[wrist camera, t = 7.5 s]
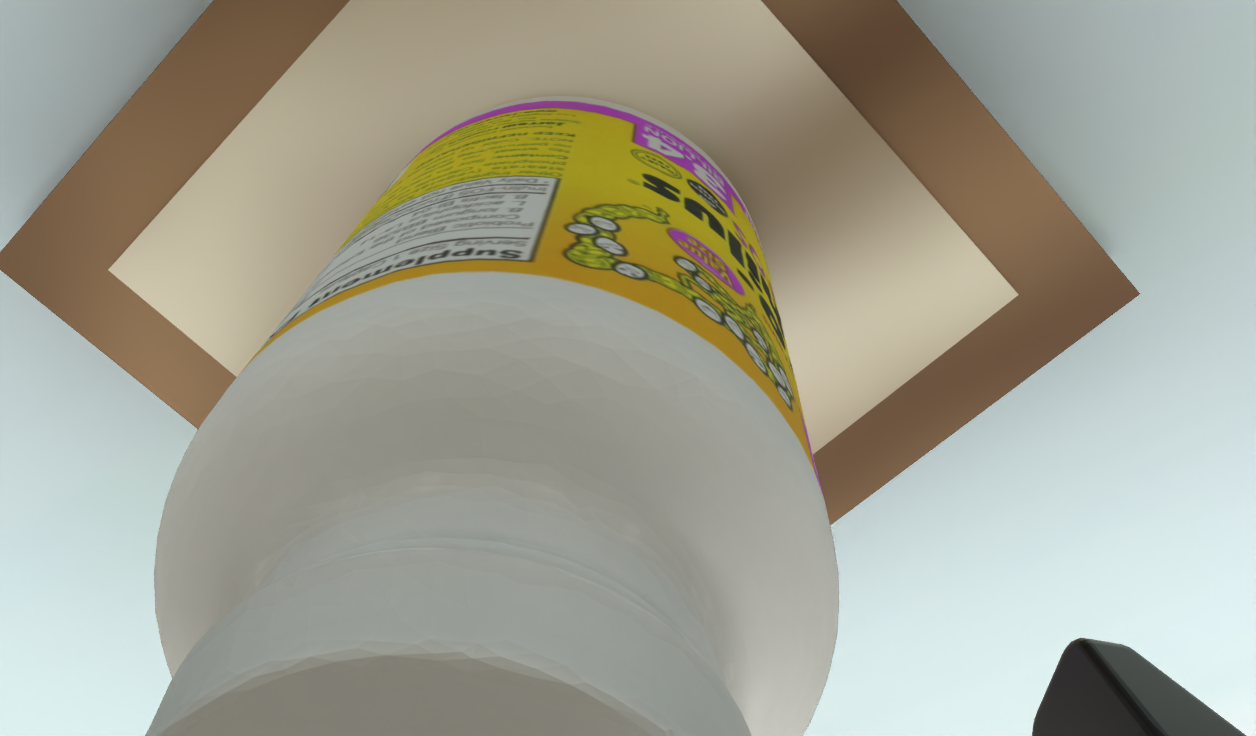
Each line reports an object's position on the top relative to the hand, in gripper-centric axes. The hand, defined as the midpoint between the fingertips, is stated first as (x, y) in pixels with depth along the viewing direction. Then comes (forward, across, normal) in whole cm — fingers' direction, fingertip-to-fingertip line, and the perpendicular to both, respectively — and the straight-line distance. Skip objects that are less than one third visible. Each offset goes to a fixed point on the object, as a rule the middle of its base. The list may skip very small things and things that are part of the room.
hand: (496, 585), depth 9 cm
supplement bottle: (+11, 0, +2) cm, 11 cm away
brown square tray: (+13, 0, +2) cm, 13 cm away
